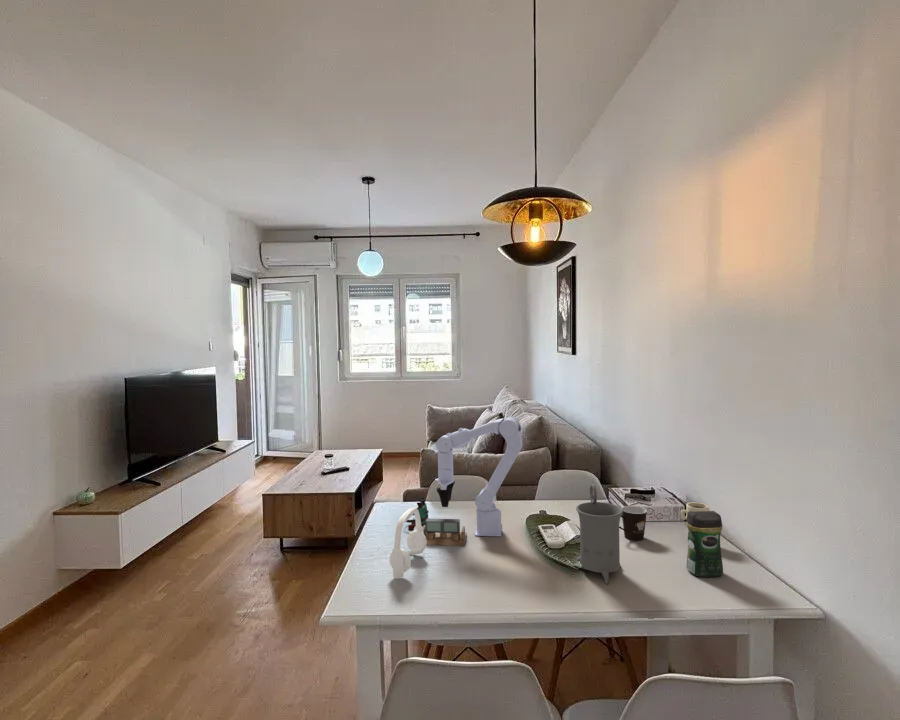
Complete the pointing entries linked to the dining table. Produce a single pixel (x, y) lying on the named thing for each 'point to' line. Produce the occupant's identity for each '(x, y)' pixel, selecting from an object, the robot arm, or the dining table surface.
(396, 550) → the headset
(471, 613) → the dining table surface
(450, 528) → the grey rectangular box
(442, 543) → the stand
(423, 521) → the binoculars
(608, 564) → the gray footed pot
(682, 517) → the character mug
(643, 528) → the coffee mug
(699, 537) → the coffee jar
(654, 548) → the dining table surface
